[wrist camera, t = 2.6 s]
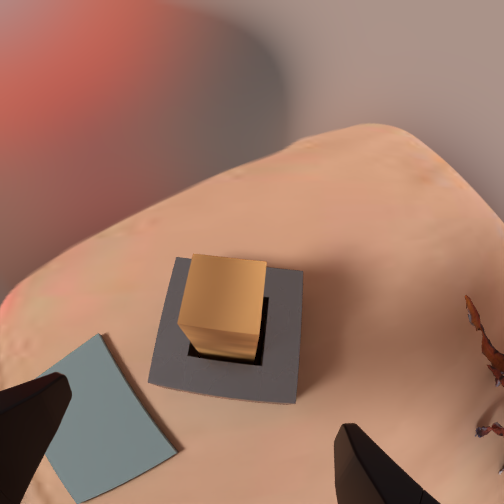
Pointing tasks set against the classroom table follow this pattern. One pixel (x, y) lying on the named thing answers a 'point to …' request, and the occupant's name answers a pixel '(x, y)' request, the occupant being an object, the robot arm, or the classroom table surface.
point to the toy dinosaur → (499, 365)
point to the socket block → (226, 373)
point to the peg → (223, 307)
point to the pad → (102, 426)
